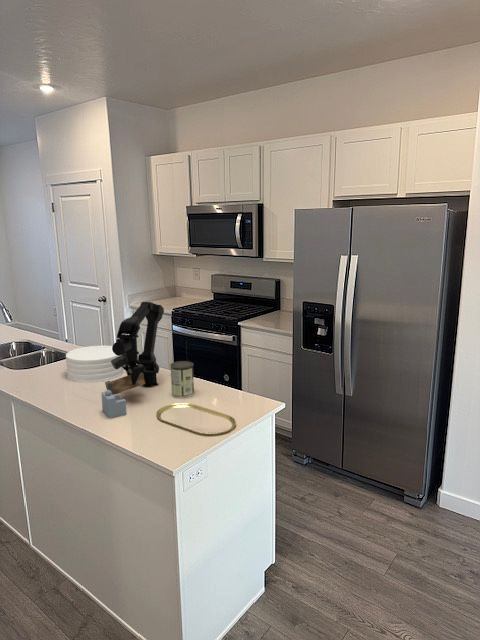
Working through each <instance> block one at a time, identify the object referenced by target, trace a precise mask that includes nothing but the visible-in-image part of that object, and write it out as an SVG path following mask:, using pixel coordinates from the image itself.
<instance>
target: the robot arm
mask: <svg viewBox="0 0 480 640" xmlns="http://www.w3.org/2000/svg"><path fill="white" fill-rule="evenodd" d="M164 312H165V309H164V307H163V305H161V304H157V303H154V302H152V301H141V303H140V306H139V307H138V308H137V309H136V311H134V312H133V314H132V315H131V316H130V317H127V318H125V319H124V320H122V321H121V322H120V325H119V326H118V327H119V328H118V331H117V333H116V334H117V335H116V339H115V342H114V343H113V344H112V346H113V347H112V350H113V352H114V354H116V355H118V356H119V357H117V358H115V359H113V360H111V363H112V365H113V367H114V368H115V369H119V368H120V367H122V368H123V369H124V371H125V373H126V376H128V375H131V380H132V384H133V385H135V384H136V382H137V379H138V377H139V375H140V373H143V376H144V381H145V384H143V385H142V386H143V387H144V388H151V387H154V386H159V383H158V381H157V377H158V376H157V374H159V371H160V366H159V364H158V363H157V357H156V354H155V345H156V338H157V332H158V331H157V330H158V324H159V322H160V321H161V320H162V319H163V316H164ZM145 318H146V321H147V323H146V332H145V337H144V338H145V339H144V343H143V344H144V345H143V346H144V347H143V351H142V352H141V353H140V352H139V351H138V338H140V337H139V332H140V329H141V326H140V324H141V323H142V322H143V321H144V319H145ZM120 355H121V356H120Z"/></svg>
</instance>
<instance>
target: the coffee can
mask: <svg viewBox="0 0 480 640" xmlns="http://www.w3.org/2000/svg"><path fill="white" fill-rule="evenodd" d="M169 367H170V381H171V385H170V386H171V396H172V397H174V398H179V399H186V398H190V397H192V396H194V394H195V384H194V383H195V382H194V363H193V362H191V361H188V360H179V361H174V362H172V363H170V365H169Z"/></svg>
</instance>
